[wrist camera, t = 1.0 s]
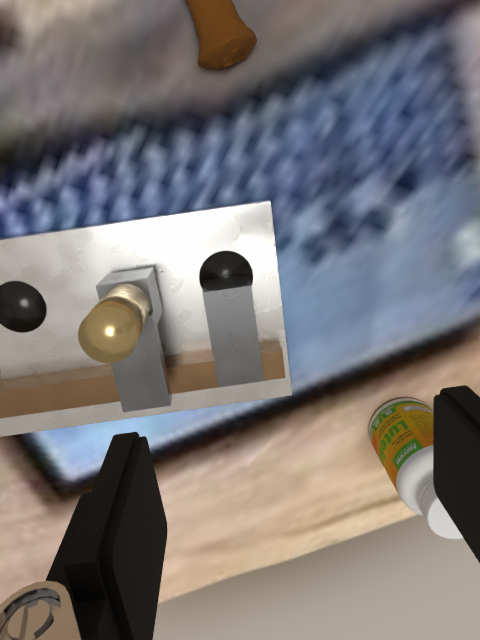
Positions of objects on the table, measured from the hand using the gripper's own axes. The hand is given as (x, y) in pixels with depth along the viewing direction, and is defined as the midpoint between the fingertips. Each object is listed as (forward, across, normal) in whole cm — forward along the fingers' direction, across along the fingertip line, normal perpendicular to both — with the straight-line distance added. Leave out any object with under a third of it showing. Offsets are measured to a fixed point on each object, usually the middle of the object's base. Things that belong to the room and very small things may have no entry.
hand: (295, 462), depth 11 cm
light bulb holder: (+20, +8, +2) cm, 21 cm away
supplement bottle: (+22, -10, +14) cm, 28 cm away
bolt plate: (+22, +10, +2) cm, 24 cm away
